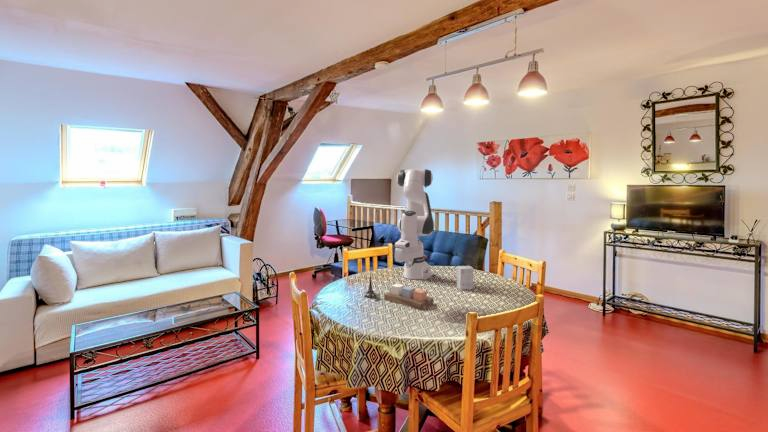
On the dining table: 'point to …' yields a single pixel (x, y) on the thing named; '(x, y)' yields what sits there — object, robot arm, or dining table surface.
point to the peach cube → (420, 295)
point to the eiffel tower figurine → (372, 293)
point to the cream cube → (396, 289)
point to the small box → (464, 277)
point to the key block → (408, 301)
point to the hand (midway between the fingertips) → (408, 267)
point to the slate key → (408, 292)
